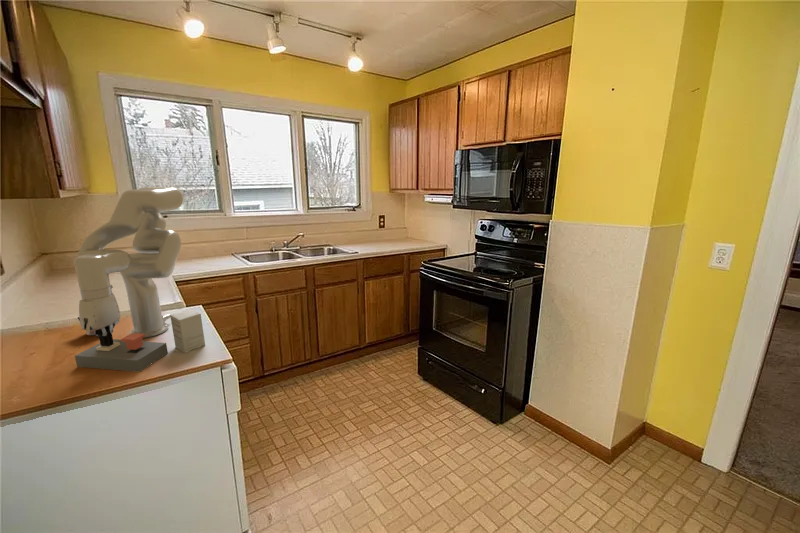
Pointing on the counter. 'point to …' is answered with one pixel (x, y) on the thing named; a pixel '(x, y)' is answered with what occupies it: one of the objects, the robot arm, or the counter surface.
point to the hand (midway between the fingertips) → (107, 345)
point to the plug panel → (122, 356)
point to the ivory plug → (108, 347)
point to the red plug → (133, 340)
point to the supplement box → (187, 330)
